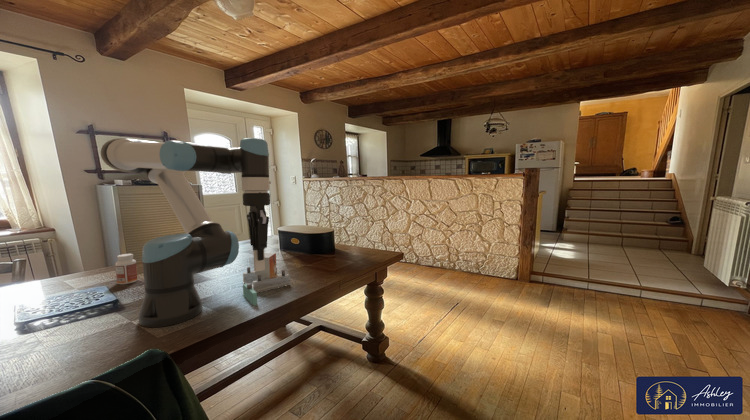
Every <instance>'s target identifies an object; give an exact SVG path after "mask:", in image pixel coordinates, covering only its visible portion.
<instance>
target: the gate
mask: <svg viewBox="0 0 750 420" xmlns="http://www.w3.org/2000/svg"><path fill="white" fill-rule="evenodd" d="M242 294H243V296H244V298H245V299H246V300H247V301H249V303H250V304H251V305H252V306H256V305H258V293H257V292H256V291H254V290H253V289H252V284H244V283H243V284H242Z"/></svg>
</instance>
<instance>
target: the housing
mask: <svg viewBox="0 0 750 420" xmlns="http://www.w3.org/2000/svg"><path fill="white" fill-rule="evenodd" d="M276 274H277V276H276V277H271V278H266V279H262V280H261V275H257V281H255V271H254V270H253V271H251V267H250V266H249V267H247V268H246V272H243V273H242V283H243V282H244V283H245V284H252V289H253V290H254V291H256V292H257V294H259V292H260V293H264V292H263V291H265V292H268V291H267V290H269V291H271V290H270V289H273V290H275V289H274V288H277V289H279V288H278V287H281V288H283V287H282V286H285V285H289V284H290V285H291V282H290V274H289V273H287V274H286V270H285V269H282V270H281V275H279V274H278V267H276ZM244 283H243V284H244Z"/></svg>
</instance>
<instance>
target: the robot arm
mask: <svg viewBox="0 0 750 420" xmlns="http://www.w3.org/2000/svg"><path fill="white" fill-rule="evenodd" d="M239 143H240V144H239V147H223V146H217V145H209V144H208V145H207V144H202V143H201V144H199V143H194V142H186V141H184V140H166V141H163V142H161V141H160V142H159V141H152V140H144V139H135V138H131V137H129V138H128V137H119V138H118V137H117V138H113V139H109V140H107V141H106V142H105V143H103V144H102V146H101V149H100V157H101V159H102V161H103V162H104V163H105V164H106V165H107V166H108V167H110V168H111V169H113V170H115V171H117V172H118V171H119V172H123V173H130V174H145V175H146V176H147V177H148V179H149V181H150V182H151V183H152V184H157V185H158V187H159V189H160V190H161V192H162V194H163V195H164V197H165V199H166V200H167V203H168V204H169V205H170V208H171V210H172V211H173V213H174V215H175V216H176V219H177V221H178V222H179V223H180V225H181V227H182V229H183V230H184V233H174V234H167V235H163V236H160V237H159V236H158V237H155V238H152V239H149V240H148V241H147V242H145V243H144V245H143V246H142V253H141V254H142V255H141V262H142V269H143V281H144V283H143V284H144V297H143V300H142V303H141V307H140V310H139V312H138V323H139V325H140V326H142V327H145V328H146V327H147V328H160V327H162V328H163V327H168V326H173V325H175V324H179V323H182V322H185V321H188V320H190V319H193V318H195V317H196V316H198V315H199V314H200V313H201V312H203V302H202V299H201V296H200V295H199V293H198V291H197V289H196V285H195V275H197V274H200V273H204V272H207V271H212V270H215V269H218V268H224V267H225V266H228V265H231V264H233V262H235V261H236V260H237V257H238V255H239V249H240V242H239V238H238V236H237V235H236V234H235V232H233V231H229V230H224V229H223V227H222V226H221V223H219V222H215V221H213V220H212V218H211V217H210V215H209V213H208V212H207V210H206V209H205V207H204V205H203V203H202V202H201V200H200V199H199V197H198V195H197V194H196V192H195V190H194V188H193V187H192V184H190V182H189V180H188V179H187V178H186V176H185V174H186V171H187V172H206V173H219V174H227V175H229V174H238V173H240V174H241V190H242V192H244V193H243V194H242V204H243V205H242V206H245V207H249V211H248V213H247V214H246V219H247V224H248V233H249V239H250V246H252V251H253V268H254V270H253V271H261V270H265V256H264V253H265V249H266V248H268V235H269V233H268V231H269V222H270V217H269V216H267V212H266V209H265V206H270V205H271V194H270V192H269V191H271V190H270V186H271V182H272V181H271V180H270V163H269V162H270V160H269V159H270V158H269V156H270V153H269V145H268V141H266V140H265V139H262V138H257V137H256V138H255V137H253V138H252V137H246V138H242V139H240V142H239Z"/></svg>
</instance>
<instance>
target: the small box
mask: <svg viewBox="0 0 750 420" xmlns="http://www.w3.org/2000/svg"><path fill="white" fill-rule="evenodd" d="M264 256H265V270H261V271H255V281H257V275H261V280H262V279H266V278H271V277H276V276H277V275H278V273H277V274H276V268H277V252H264Z"/></svg>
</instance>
